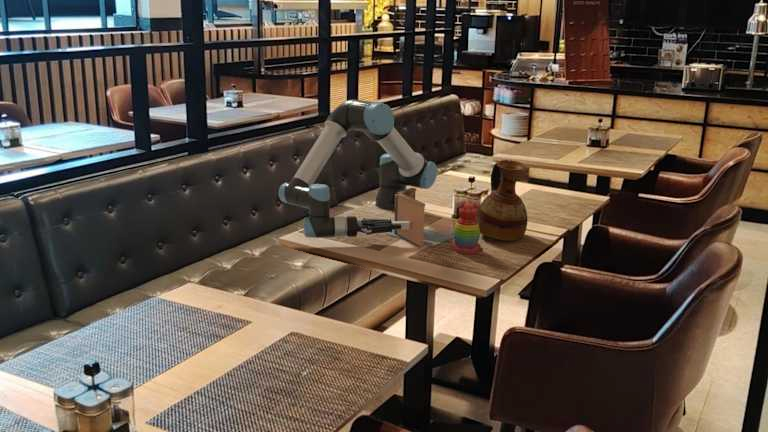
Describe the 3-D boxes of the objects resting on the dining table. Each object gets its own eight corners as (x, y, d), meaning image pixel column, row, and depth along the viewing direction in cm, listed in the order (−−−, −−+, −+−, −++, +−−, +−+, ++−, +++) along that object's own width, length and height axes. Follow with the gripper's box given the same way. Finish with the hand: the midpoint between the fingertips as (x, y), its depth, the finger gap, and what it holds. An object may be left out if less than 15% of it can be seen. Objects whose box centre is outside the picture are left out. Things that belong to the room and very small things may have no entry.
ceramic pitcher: (492, 247, 273) (497, 168, 265) (465, 231, 291) (468, 157, 282) (536, 241, 281) (542, 164, 272) (507, 226, 299) (512, 153, 290)
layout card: (408, 225, 297) (408, 224, 297) (455, 237, 284) (455, 235, 284) (385, 234, 286) (385, 233, 286) (433, 246, 273) (433, 245, 273)
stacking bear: (480, 246, 275) (483, 199, 270) (481, 255, 265) (484, 207, 260) (451, 244, 276) (453, 198, 271) (451, 253, 266) (453, 206, 261)
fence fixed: (410, 226, 295) (411, 187, 290) (415, 227, 294) (416, 188, 289) (393, 233, 286) (394, 193, 281) (397, 234, 285) (398, 194, 280)
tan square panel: (396, 233, 284) (397, 194, 280) (400, 233, 285) (401, 193, 281) (419, 245, 271) (420, 204, 267) (423, 245, 272) (425, 203, 268)
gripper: (344, 230, 279) (406, 229, 282) (347, 242, 266) (412, 240, 269) (344, 211, 277) (406, 210, 280) (347, 222, 264) (412, 220, 267)
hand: (409, 225), depth 275 cm, fingers closed
